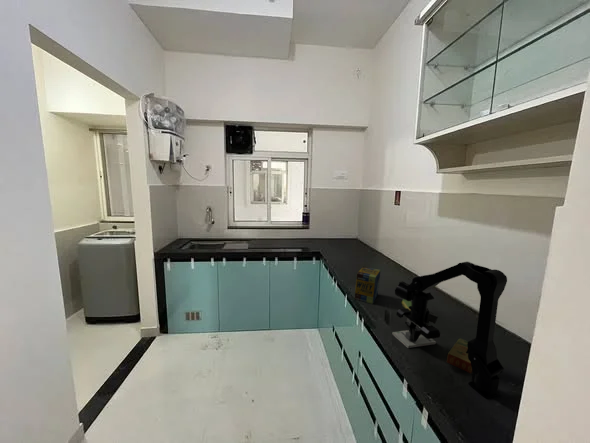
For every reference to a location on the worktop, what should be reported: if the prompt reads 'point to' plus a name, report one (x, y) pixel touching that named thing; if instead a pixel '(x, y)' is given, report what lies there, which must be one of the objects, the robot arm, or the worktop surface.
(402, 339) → the breaker board
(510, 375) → the worktop surface
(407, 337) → the breaker
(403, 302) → the edible corn
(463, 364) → the carton
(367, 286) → the protein box
